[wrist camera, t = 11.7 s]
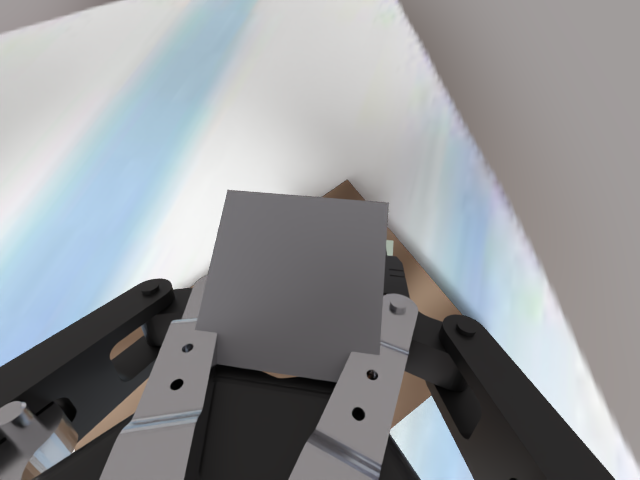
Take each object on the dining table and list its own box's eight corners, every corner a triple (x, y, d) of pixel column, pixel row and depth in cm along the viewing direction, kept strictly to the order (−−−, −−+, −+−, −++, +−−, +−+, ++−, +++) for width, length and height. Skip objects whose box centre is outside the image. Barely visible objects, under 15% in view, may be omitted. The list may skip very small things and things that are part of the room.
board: (66, 379, 21) (51, 383, 20) (347, 186, 24) (347, 179, 23) (153, 613, 17) (140, 634, 16) (481, 345, 20) (489, 347, 19)
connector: (356, 347, 16) (377, 388, 6) (278, 337, 16) (187, 359, 7) (362, 269, 17) (388, 202, 7) (290, 262, 17) (227, 189, 8)
